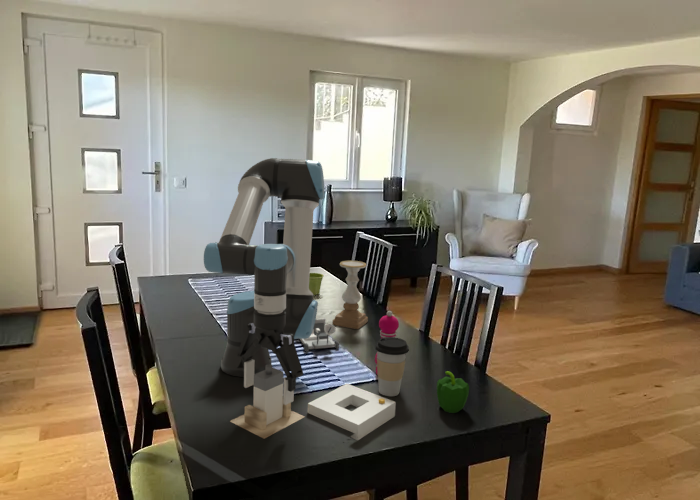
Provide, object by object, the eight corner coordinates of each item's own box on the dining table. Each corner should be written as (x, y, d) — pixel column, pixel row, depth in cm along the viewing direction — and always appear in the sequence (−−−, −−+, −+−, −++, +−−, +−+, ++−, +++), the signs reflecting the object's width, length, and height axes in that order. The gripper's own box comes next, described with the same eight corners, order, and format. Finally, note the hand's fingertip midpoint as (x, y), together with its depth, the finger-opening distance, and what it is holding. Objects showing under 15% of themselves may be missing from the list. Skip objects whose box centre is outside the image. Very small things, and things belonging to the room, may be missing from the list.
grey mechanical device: (342, 325, 184) (309, 328, 180) (341, 353, 186) (308, 356, 182) (326, 309, 201) (295, 311, 197) (325, 335, 202) (294, 338, 198)
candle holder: (331, 324, 213) (334, 264, 208) (342, 317, 223) (345, 259, 218) (358, 329, 209) (361, 267, 204) (368, 321, 219) (371, 262, 214)
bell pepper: (472, 414, 147) (475, 379, 145) (444, 417, 145) (447, 381, 143) (457, 400, 155) (460, 366, 153) (430, 403, 152) (433, 368, 151)
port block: (307, 418, 141) (307, 401, 140) (346, 397, 154) (346, 381, 153) (357, 440, 132) (358, 422, 131) (394, 416, 144) (395, 399, 143)
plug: (253, 420, 136) (253, 366, 133) (270, 411, 140) (272, 359, 138) (264, 426, 133) (265, 371, 130) (282, 417, 138) (283, 364, 135)
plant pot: (322, 296, 250) (323, 278, 249) (301, 295, 250) (302, 277, 249) (323, 291, 260) (324, 273, 258) (303, 290, 260) (304, 272, 258)
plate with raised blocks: (229, 426, 135) (229, 405, 134) (271, 406, 146) (271, 387, 145) (264, 444, 128) (264, 422, 127) (305, 422, 139) (305, 401, 138)
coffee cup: (370, 384, 162) (373, 335, 159) (402, 384, 163) (406, 336, 160) (375, 399, 153) (378, 347, 150) (408, 399, 154) (412, 348, 151)
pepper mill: (400, 371, 173) (404, 309, 169) (394, 380, 166) (398, 316, 162) (377, 367, 175) (381, 306, 171) (371, 375, 168) (374, 312, 164)
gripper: (222, 302, 136) (222, 383, 140) (297, 325, 121) (295, 415, 125) (246, 296, 142) (245, 375, 146) (320, 318, 127) (317, 404, 131)
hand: (268, 394), depth 135 cm, fingers open, 13 cm apart
